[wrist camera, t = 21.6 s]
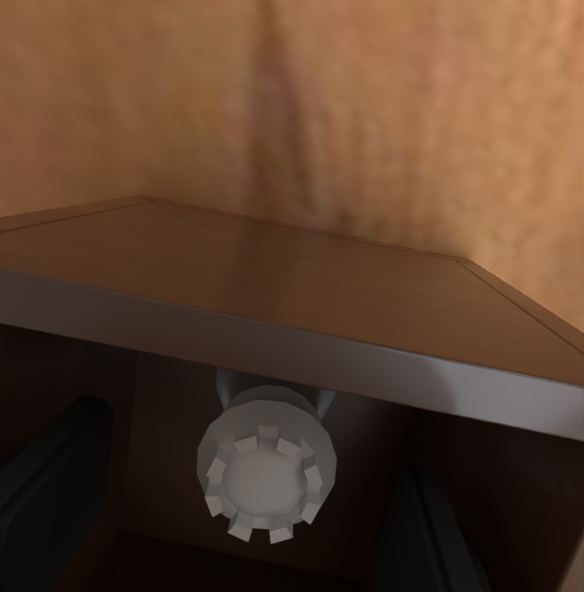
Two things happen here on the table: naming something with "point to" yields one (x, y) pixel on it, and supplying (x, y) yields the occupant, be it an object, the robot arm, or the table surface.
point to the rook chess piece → (266, 454)
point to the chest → (297, 369)
